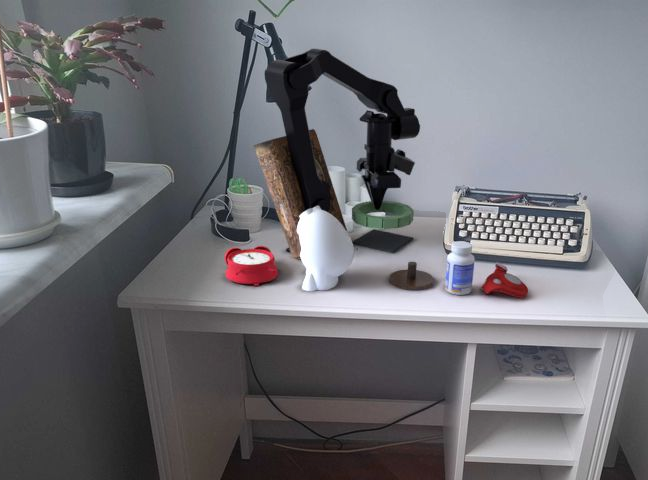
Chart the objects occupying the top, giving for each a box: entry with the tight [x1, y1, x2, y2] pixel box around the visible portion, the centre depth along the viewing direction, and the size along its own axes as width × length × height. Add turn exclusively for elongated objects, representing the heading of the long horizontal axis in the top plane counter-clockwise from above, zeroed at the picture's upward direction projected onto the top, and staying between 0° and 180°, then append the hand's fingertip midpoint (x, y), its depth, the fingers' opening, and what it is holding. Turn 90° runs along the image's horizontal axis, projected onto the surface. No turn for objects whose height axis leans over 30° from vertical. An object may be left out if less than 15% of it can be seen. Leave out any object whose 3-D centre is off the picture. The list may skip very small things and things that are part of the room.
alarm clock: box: [224, 245, 279, 287], centre depth 129 cm, size 10×6×15 cm
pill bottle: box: [444, 240, 476, 296], centre depth 125 cm, size 5×5×10 cm
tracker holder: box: [480, 261, 529, 299], centre depth 128 cm, size 12×4×10 cm
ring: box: [351, 200, 415, 230], centre depth 147 cm, size 14×14×2 cm
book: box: [253, 128, 348, 260], centre depth 140 cm, size 16×6×25 cm, turn 152°
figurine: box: [297, 206, 355, 292], centre depth 125 cm, size 11×11×15 cm
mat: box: [352, 228, 415, 254], centre depth 150 cm, size 11×11×1 cm
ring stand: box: [388, 261, 435, 291], centre depth 129 cm, size 9×9×4 cm
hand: (376, 208), depth 153 cm, fingers closed on ring, 2 cm apart
